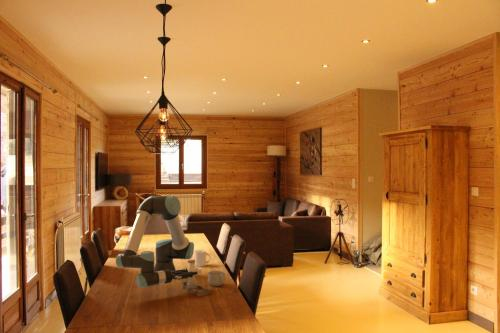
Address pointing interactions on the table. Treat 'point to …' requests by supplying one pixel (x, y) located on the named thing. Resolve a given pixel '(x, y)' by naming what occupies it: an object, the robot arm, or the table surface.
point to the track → (196, 289)
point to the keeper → (191, 280)
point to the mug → (200, 258)
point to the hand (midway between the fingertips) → (199, 271)
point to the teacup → (216, 278)
